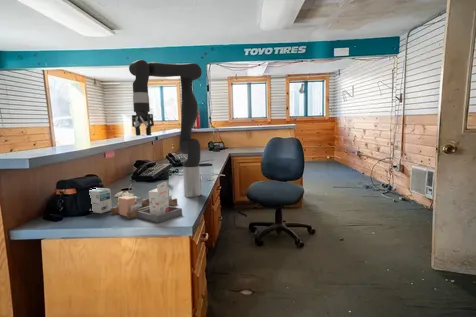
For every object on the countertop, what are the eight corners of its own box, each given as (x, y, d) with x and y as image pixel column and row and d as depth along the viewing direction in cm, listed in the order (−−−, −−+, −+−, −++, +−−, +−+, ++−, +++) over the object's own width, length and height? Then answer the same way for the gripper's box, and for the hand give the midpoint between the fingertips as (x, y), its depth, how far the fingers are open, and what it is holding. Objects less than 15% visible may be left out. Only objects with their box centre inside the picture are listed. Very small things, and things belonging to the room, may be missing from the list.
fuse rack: (159, 200, 155) (159, 191, 155) (177, 204, 147) (176, 194, 146) (111, 214, 133) (110, 203, 132) (128, 219, 124) (128, 208, 124)
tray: (162, 210, 137) (162, 204, 136) (182, 214, 129) (181, 208, 128) (138, 218, 126) (137, 211, 125) (157, 223, 118) (157, 216, 117)
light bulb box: (112, 209, 140) (111, 188, 139) (101, 213, 134) (99, 191, 133) (97, 207, 144) (95, 187, 143) (85, 211, 138) (83, 189, 137)
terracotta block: (127, 212, 135) (126, 195, 135) (136, 214, 131) (134, 197, 130) (119, 214, 132) (118, 197, 131) (128, 216, 128) (127, 199, 127)
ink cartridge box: (160, 211, 132) (158, 180, 130) (169, 212, 131) (167, 181, 129) (149, 217, 124) (147, 184, 122) (159, 218, 122) (157, 184, 121)
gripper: (156, 101, 138) (158, 135, 140) (139, 103, 147) (141, 135, 149) (143, 100, 132) (145, 135, 134) (126, 103, 141) (128, 135, 143)
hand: (143, 135), depth 141 cm, fingers open, 8 cm apart
